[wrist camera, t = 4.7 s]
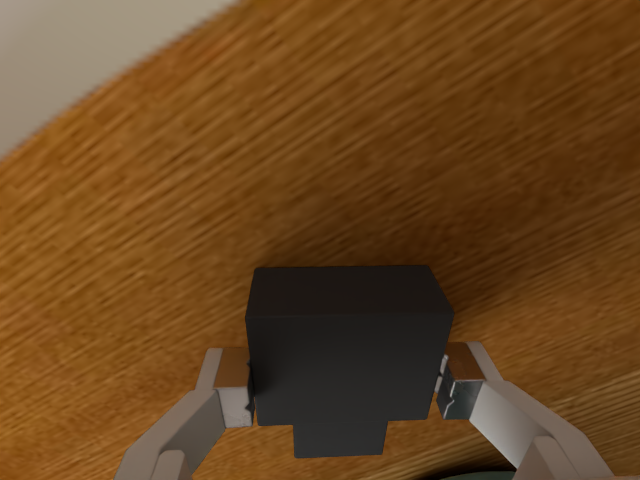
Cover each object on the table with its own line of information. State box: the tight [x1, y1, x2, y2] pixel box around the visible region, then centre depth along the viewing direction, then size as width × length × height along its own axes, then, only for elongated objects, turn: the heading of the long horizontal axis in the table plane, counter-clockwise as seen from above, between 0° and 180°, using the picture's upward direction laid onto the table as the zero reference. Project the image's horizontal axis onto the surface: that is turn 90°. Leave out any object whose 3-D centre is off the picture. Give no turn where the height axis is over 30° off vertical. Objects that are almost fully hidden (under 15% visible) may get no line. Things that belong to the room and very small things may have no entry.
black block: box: [245, 265, 454, 458], centre depth 13 cm, size 8×6×2 cm
